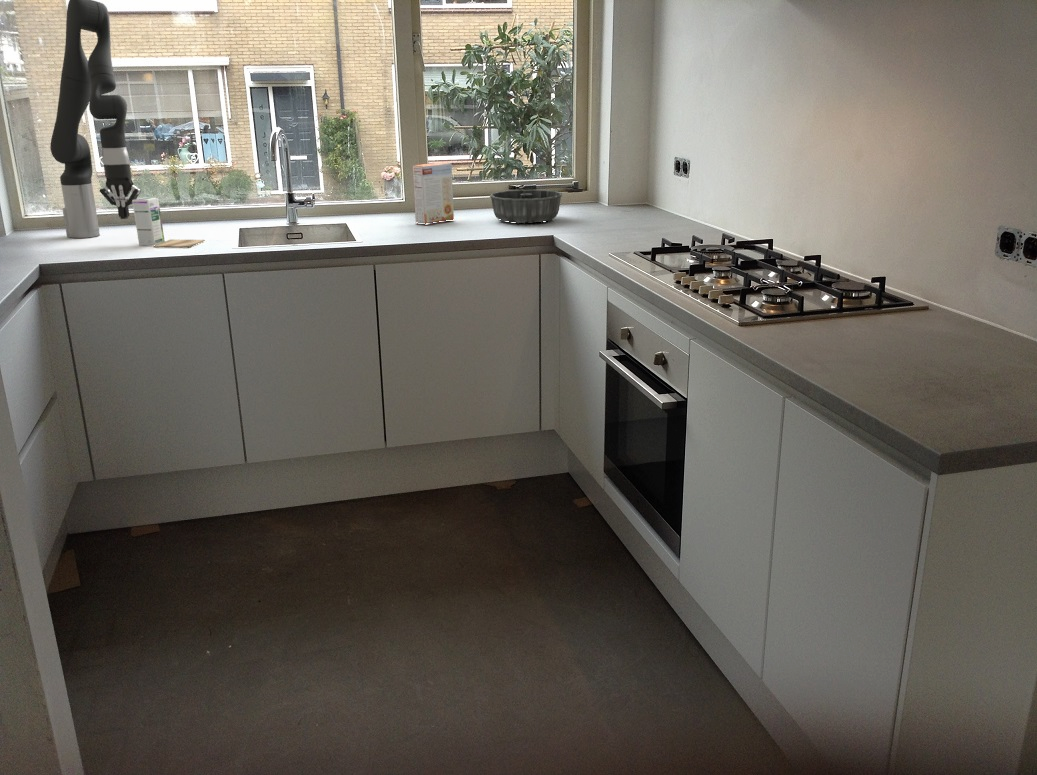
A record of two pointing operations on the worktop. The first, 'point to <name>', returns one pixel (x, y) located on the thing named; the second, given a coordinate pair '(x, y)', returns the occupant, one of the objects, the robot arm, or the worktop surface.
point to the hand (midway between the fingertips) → (124, 218)
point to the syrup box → (148, 221)
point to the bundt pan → (526, 205)
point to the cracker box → (433, 192)
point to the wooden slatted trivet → (179, 243)
